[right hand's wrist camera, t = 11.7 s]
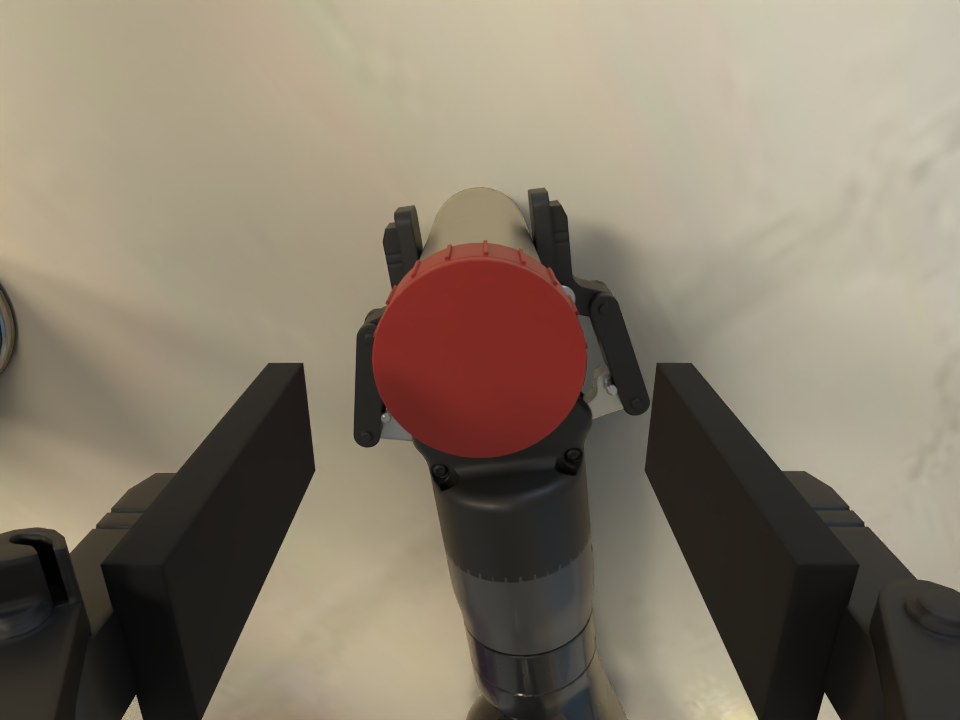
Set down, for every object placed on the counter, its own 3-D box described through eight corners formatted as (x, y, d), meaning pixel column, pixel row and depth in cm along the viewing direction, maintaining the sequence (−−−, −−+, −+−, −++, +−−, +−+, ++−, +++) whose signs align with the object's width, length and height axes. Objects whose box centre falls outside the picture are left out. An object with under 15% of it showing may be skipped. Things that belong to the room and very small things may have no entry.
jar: (492, 298, 34) (503, 467, 18) (415, 249, 33) (355, 383, 17) (545, 221, 32) (607, 334, 17) (465, 168, 31) (451, 232, 16)
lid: (506, 455, 20) (509, 494, 18) (346, 362, 19) (329, 393, 17) (617, 311, 18) (634, 336, 16) (448, 198, 17) (443, 211, 15)
